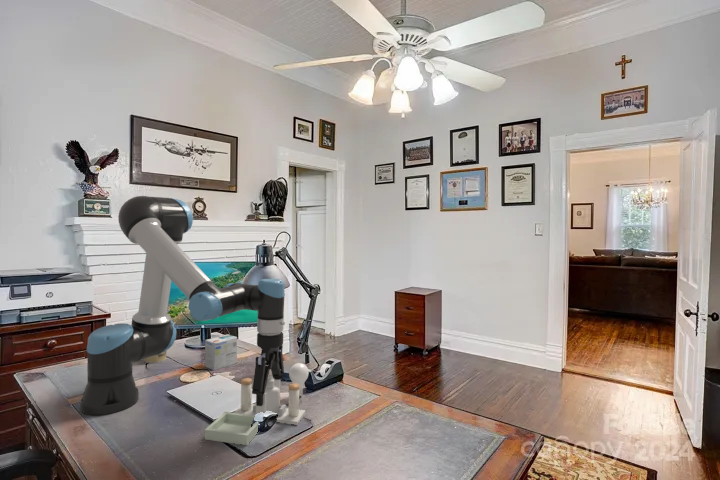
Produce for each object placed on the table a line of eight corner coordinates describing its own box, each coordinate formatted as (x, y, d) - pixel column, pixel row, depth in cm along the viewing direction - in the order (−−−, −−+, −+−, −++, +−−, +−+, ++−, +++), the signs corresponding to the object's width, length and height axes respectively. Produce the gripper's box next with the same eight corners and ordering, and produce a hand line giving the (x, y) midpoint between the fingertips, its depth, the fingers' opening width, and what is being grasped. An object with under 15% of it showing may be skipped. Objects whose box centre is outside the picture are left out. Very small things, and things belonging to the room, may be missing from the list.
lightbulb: (304, 401, 125) (305, 368, 125) (285, 399, 126) (286, 366, 126) (310, 393, 131) (311, 361, 131) (292, 391, 132) (293, 359, 132)
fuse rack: (232, 416, 114) (233, 383, 114) (243, 405, 121) (244, 374, 121) (297, 425, 110) (298, 391, 110) (305, 413, 117) (306, 381, 117)
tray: (204, 439, 102) (204, 429, 102) (224, 420, 112) (225, 411, 112) (247, 445, 100) (247, 435, 100) (263, 425, 110) (264, 416, 110)
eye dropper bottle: (263, 410, 118) (264, 371, 118) (281, 412, 117) (282, 373, 117) (257, 417, 114) (258, 377, 114) (275, 420, 113) (276, 379, 113)
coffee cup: (160, 364, 153) (160, 334, 153) (137, 363, 153) (137, 333, 153) (172, 356, 162) (172, 327, 162) (150, 355, 163) (150, 327, 162)
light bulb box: (227, 359, 161) (227, 333, 160) (237, 363, 157) (238, 336, 156) (204, 366, 152) (204, 339, 152) (214, 370, 148) (214, 343, 148)
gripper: (266, 343, 103) (263, 427, 103) (295, 324, 124) (294, 394, 125) (239, 341, 104) (237, 424, 104) (273, 322, 126) (272, 391, 126)
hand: (268, 407), depth 115 cm, fingers open, 10 cm apart
